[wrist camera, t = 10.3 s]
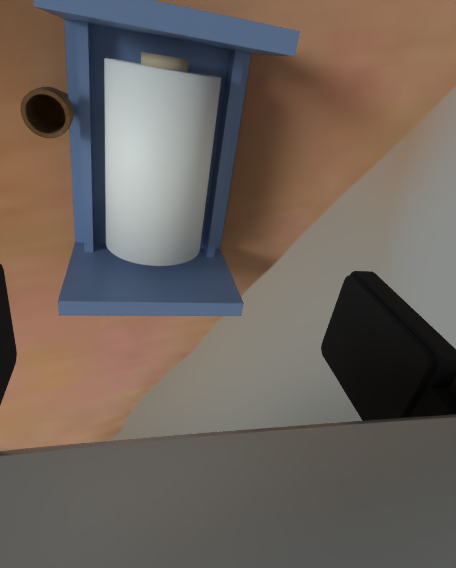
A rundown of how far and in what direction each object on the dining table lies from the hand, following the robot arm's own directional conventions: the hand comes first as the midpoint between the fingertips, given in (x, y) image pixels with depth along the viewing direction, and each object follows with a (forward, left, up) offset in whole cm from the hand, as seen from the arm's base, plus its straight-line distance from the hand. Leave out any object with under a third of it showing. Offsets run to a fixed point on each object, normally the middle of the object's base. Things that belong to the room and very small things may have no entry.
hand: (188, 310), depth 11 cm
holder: (0, 0, -20) cm, 20 cm away
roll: (0, 0, -19) cm, 19 cm away
